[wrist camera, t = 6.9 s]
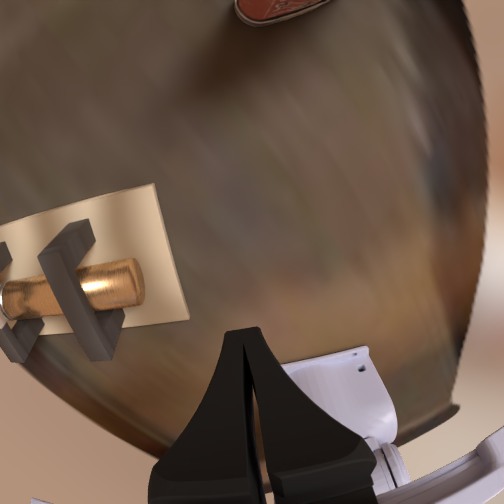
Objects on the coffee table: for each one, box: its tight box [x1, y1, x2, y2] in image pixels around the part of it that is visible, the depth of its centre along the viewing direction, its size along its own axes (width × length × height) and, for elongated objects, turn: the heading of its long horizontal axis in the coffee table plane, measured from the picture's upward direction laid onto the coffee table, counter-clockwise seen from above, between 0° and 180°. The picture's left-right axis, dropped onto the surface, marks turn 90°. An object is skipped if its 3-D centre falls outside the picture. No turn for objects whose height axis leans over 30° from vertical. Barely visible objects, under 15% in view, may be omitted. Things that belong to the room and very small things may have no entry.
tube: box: [0, 258, 145, 321], centre depth 18 cm, size 14×3×3 cm, turn 97°
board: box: [0, 183, 190, 363], centre depth 17 cm, size 18×10×5 cm, turn 97°
